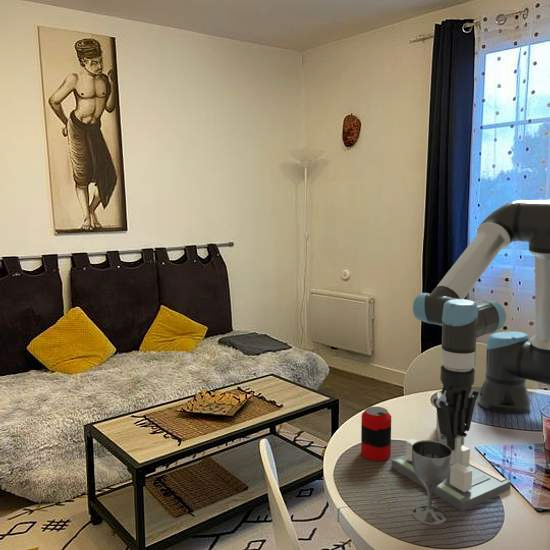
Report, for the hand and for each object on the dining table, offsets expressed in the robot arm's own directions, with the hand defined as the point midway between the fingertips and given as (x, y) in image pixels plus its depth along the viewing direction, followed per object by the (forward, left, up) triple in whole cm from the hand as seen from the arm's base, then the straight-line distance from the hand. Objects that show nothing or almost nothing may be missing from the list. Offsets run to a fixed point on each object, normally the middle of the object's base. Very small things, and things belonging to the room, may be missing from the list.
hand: (453, 460), depth 132 cm
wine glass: (+16, +8, -4) cm, 19 cm away
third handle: (+6, +7, -1) cm, 9 cm away
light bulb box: (-15, -15, -4) cm, 22 cm away
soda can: (+9, -18, -4) cm, 20 cm away
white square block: (-2, 0, -1) cm, 2 cm away
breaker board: (+2, 0, -4) cm, 4 cm away
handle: (+6, -7, -1) cm, 9 cm away
